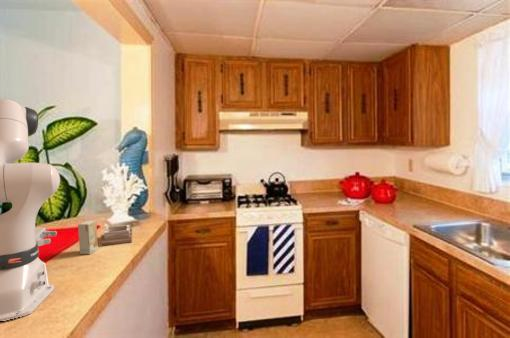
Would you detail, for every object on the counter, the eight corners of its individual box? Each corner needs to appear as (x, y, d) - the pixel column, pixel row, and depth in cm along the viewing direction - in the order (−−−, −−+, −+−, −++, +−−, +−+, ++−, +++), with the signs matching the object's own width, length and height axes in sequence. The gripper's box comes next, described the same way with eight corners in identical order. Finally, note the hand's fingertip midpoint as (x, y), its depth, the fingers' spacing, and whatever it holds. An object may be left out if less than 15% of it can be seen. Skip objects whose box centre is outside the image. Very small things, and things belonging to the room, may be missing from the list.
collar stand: (131, 242, 137) (131, 232, 137) (101, 246, 133) (100, 236, 133) (132, 231, 154) (131, 222, 154) (105, 234, 150) (104, 225, 149)
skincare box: (90, 254, 124) (88, 224, 123) (79, 254, 124) (77, 224, 123) (98, 248, 130) (96, 220, 129) (88, 248, 130) (86, 220, 129)
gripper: (-2, 242, 107) (45, 237, 112) (19, 226, 126) (58, 222, 131) (0, 259, 108) (47, 254, 113) (20, 241, 127) (59, 236, 132)
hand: (53, 237), depth 122 cm, fingers open, 8 cm apart
